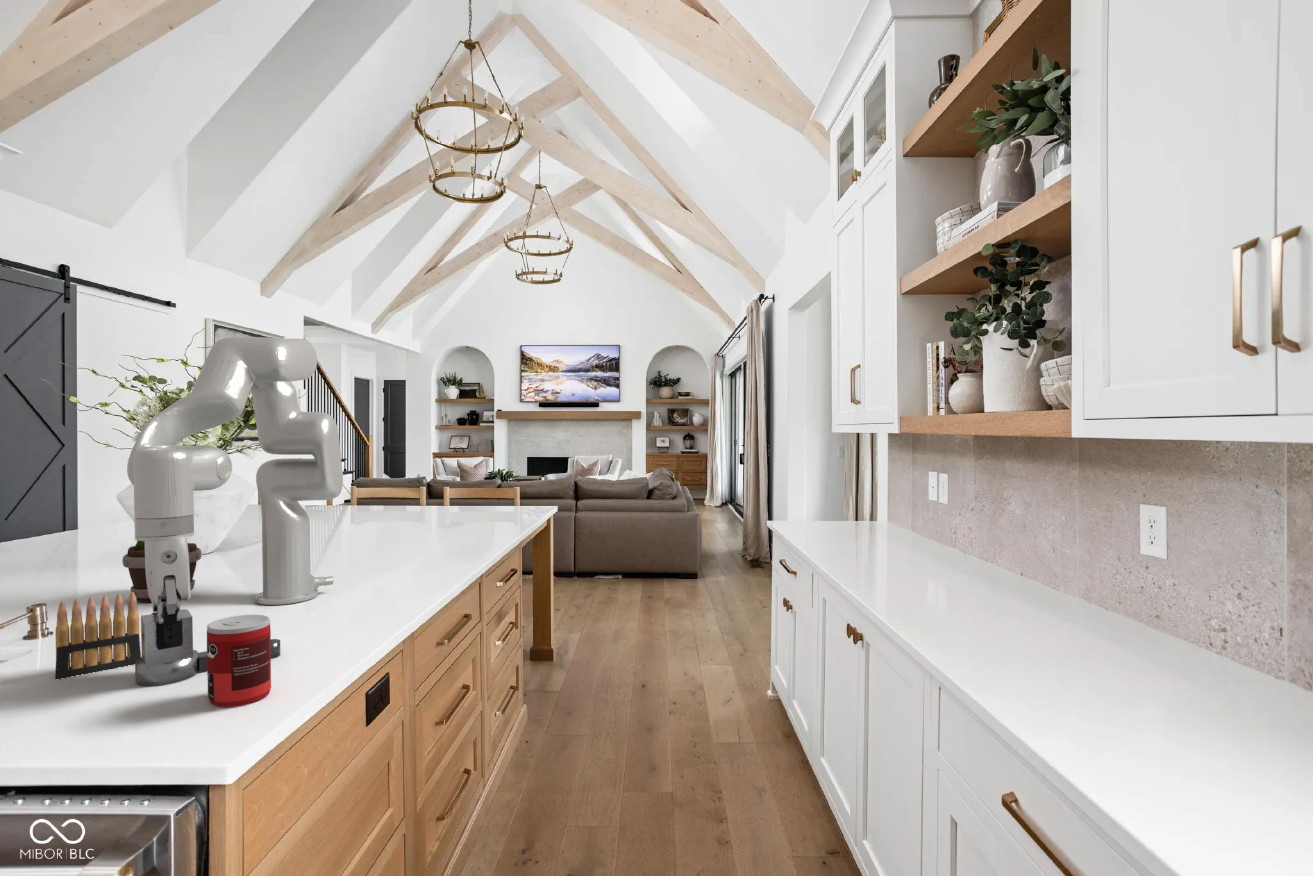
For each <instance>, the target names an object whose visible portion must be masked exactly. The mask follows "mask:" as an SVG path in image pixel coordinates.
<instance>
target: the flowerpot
mask: <svg viewBox="0 0 1313 876" xmlns="http://www.w3.org/2000/svg"><path fill="white" fill-rule="evenodd" d="M187 543H188V553H189V570H190V588H191V591H192V590H194V588H195V584H196V579H194V576H195V572H196V568H197V567H196V566H197V563H198V562H197V561H200V560H201V559H202V550H201V548H199V547H198V545H197V544H196V543H194V542H193V543H192V542H187ZM122 565H123V567H124V568H127V569H128V572H129V573H128V574H129V576H130V580H131V583H132V586H131V587H130V593H131V592H134V594H135V596H136V600H137V602H140V603H152V602H151V600H150V598H149V595H148V589H147V582H146V570H145V541H139V540H136V544H135V545H133V546H129V547H128V549H127V553H125V554H124V555H123V556H122ZM180 599H182V598H181V596H180Z"/></svg>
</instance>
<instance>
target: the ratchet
mask: <svg viewBox="0 0 1313 876" xmlns="http://www.w3.org/2000/svg"><path fill="white" fill-rule="evenodd" d="M280 656H281V640H280V639H277V638H272V639H271V660H272V659H275V658H278V657H280ZM134 671H135V672H134V675H135V677H134V678H135V679H134V682H135V684H136V685H138V686H141V687H159V686H166V685H172V684H176V683H179V682H183V681H186V680H188V679H190V678H193V677H195V676H196V675H197V674H198V673H199V674H201V673H207V650H206V651H201V652H198V651H197V650H196V649H193V658H189V659H184V660H178V661H173V662H168V663H162V664H157V665H152V666H147V667H145V665H144V662H143V659H142V657H141V658H140V659H138V660H136V662H135V665H134Z"/></svg>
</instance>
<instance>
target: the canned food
mask: <svg viewBox="0 0 1313 876" xmlns="http://www.w3.org/2000/svg"><path fill="white" fill-rule="evenodd" d="M271 632H272V630H271V620H270V617H269V616H267V615H262V614H241V615H233V616H228V617H227V616H226V617H224V618H221V619H215V620H214V621H211V622H209V623H208V624H207V627H206V651H207V671H206V673H207V698H208V701H209V703H210V705H212V706H214V707H218V708H235V707H240V706H241V707H242V706H246V705H250V704H254V703H256V702H260V701H261V700H263V699H264V698H265V699H266V697H267V696H269V694H270V692H271V689H272V662H271V661H272V659H271V638H272V636H271V635H272V634H271Z"/></svg>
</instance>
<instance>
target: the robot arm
mask: <svg viewBox="0 0 1313 876" xmlns="http://www.w3.org/2000/svg"><path fill="white" fill-rule="evenodd" d="M317 365H318V354H317V351H316V349H315V347H314V346H313V344H312V343H311V342H310V341H309V340H308V339H304V338H285V337H284V338H282V337H259V336H257V337H255V336H250V337H249V336H234V337H233V336H231V337H224V338H221V339H218V340H217V341H216V342H214V343H213V345H212V346H211V348H210V349H209V351H208V354H207V356H206V358H205V360H204V363H203V365H202V367H201V369H200V371H199V374H198V376H197V378H196V381H194V382H195V383H194V385H193V387H192V389H191V391H190V393H189V394H187V395H185V396H184V397H182V398H180V399H178V400H177V401H175V402H174V403H172V404H171V405H169V406H167V407H166V408H165V409H163V410H162V411H160V412H158V413H157V414H155V415H154V416H153V417H151V418H150V419H149V420H148V421H147V422H146V424H145V425H143V427H142V429H141V431H140V432H139V435H138V437H137V438H136V440H135V442H134V445H133V447H132V449H131V450H130V455H129V457H128V460H127V466H126V473H127V477H128V479H129V481H130V483H131V485H133V506H134V507H133V509H134V510H133V511H134V541H137V540H139V541H145V570H146V582H147V589H148V595H149V598H150V600H151V602H150V603H152V612H151V614H155V613H158V621H159V623H156V636H157V649H158V650H162V649H167V648H173V647H179V646H181V645H182V644H183V630H182V619H181V610H182V609H181V599H182V600H184V601H185V602H188V601H190V600H191V599H192V590H191V588H190V570H189V553H188V543H189V542H188V538H189V537H192V536H194V535H195V521H194V520H195V517H194V516H195V514H194V513H195V512H194V511H195V510H194V509H195V507H194V505H195V504H194V501H195V500H194V492H196V491H200V492H201V491H210V490H215V489H218V488H220V487H222V486H223V485H225V484H226V483H227V482H228V480H229V479H230V477H231V475H232V472H233V464H232V463H233V462H232V460H231V457H230V455H229V454H228V453H227V452H226V451H225V450H223V449H222V448H221V447H220V448H219V447H217V446H214V445H184V444H183V445H182V444H181V445H180V444H179V445H177V444H178V443H179V442H181V441H183V440H185V439H186V438H187V437H190V436H193V435H196V434H197V433H201V432H203V431H206V430H209V429H210V430H211V429H213V428H217V427H219V426H221V425H224V424H227V423H230V422H232V421H234V420H236V419H237V418H238V417H240V416H241V415H242V413H243V412H244V409H245V406H246V403H247V401H248V398H249V395H250V394H251V398H252V402H253V409H254V417H255V425H256V433H257V438H258V442H259V446H260V448H261V449H262V451H263V452H264V453H267V454H271V455H281V456H282V455H284V456H285V455H287V456H289V455H290V456H291V455H295V456H297V455H301V456H302V455H304V456H305V455H308V456H309V455H311V456H312V457H313V458H302V457H301V458H295V457H294V458H293V457H292V458H290V457H289V458H276V459H271V460H267V461H265V462H264V463H262V464H261V465H260V466H259V467H258V468H257V471H256V474H255V475H256V476H255V483H256V488H257V492H258V498H259V502H260V504H259V505H260V511H261V552H262V553H261V554H262V592H260V593H258V594H256V595H255V596H254V602H255V603H257V604H259V605H264V606H265V605H267V606H269V605H270V606H273V605H274V606H277V605H287V604H288V605H289V604H295V603H302V602H305V601H309V600H312V599H315V598H316V597H317V596H319V590H318V589H319V587H321V586H324V587H325V586H331V585H334V576H316V577H315V576H314V575H312V574H311V532H310V531H311V529H310V528H311V527H310V526H311V524H310V523H311V522H310V518H309V515H308V513H307V511H306V510H305V509H304V508H303V506H302V505H301V504H300V503H299V502H303V501H305V502H307V501H329V500H330V501H331V500H334V499H335V498H338V497H339V496H340V494H341V493H342V489H343V485H344V475H343V474H344V473H343V464H342V454H341V445H340V436H339V429H338V426H337V425H338V424H337V423H336V421H335V418H334V417H333V416H331V415H330V414H329V413H326V412H321V411H302V410H300V407H299V401H298V394H297V388H296V387H295V385H294V384H293V382H299V381H305V380H308V379H310V378H311V377H312V376H313V375H314V373H315V371H316V369H317ZM180 596H181V598H180Z"/></svg>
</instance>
